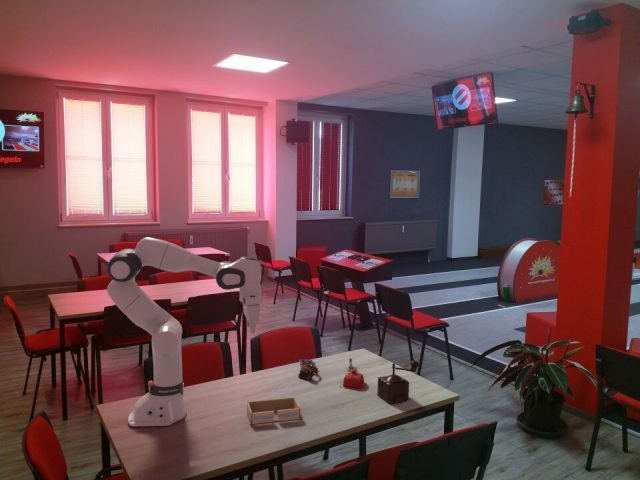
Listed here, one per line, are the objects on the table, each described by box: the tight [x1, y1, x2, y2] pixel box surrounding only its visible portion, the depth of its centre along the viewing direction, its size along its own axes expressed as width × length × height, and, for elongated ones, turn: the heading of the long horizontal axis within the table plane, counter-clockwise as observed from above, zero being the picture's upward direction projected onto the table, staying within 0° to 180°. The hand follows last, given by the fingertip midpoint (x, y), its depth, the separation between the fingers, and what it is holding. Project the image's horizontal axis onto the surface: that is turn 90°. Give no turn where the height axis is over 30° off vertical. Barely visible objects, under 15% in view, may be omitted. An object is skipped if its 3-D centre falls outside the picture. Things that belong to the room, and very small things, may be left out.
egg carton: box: [298, 358, 317, 368], centre depth 256 cm, size 11×8×4 cm
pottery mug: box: [297, 363, 319, 381], centre depth 243 cm, size 12×9×8 cm
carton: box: [246, 396, 301, 425], centre depth 201 cm, size 20×10×5 cm, turn 106°
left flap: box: [249, 411, 275, 425], centre depth 194 cm, size 9×1×4 cm, turn 106°
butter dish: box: [339, 369, 367, 392], centre depth 234 cm, size 12×12×8 cm
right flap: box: [278, 407, 302, 422], centre depth 197 cm, size 9×1×4 cm, turn 106°
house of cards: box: [347, 358, 358, 373], centre depth 252 cm, size 9×9×8 cm
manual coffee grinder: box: [377, 360, 420, 405], centre depth 220 cm, size 16×11×18 cm
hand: (250, 329), depth 203 cm, fingers open, 8 cm apart
